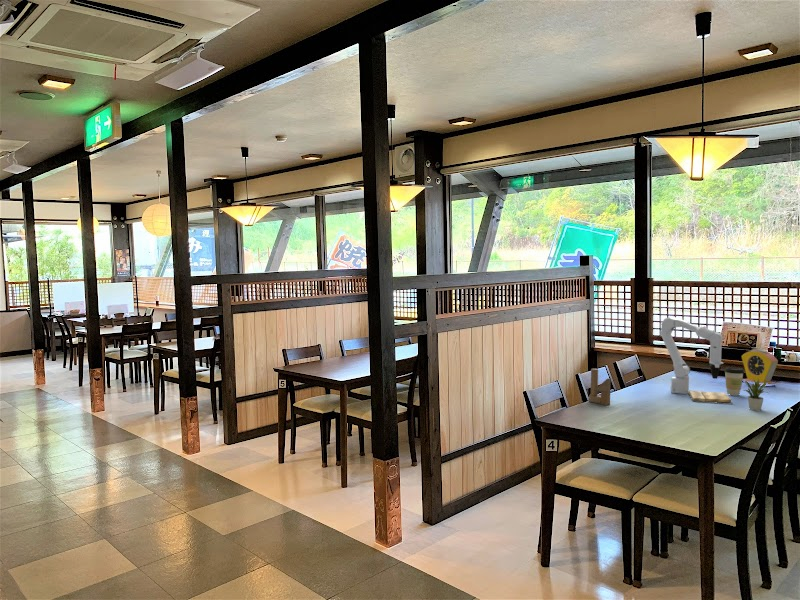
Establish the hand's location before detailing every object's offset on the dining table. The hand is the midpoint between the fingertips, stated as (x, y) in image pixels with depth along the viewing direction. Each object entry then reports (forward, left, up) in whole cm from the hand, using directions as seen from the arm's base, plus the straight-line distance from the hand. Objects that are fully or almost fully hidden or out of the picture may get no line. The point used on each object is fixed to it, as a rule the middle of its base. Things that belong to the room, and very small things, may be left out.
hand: (714, 378), depth 335 cm
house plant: (+16, -26, -11) cm, 32 cm away
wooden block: (-60, -36, -11) cm, 71 cm away
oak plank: (0, -11, -10) cm, 15 cm away
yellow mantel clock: (+31, +47, -11) cm, 57 cm away
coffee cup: (+11, +9, -11) cm, 18 cm away
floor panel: (-3, -6, -10) cm, 12 cm away
